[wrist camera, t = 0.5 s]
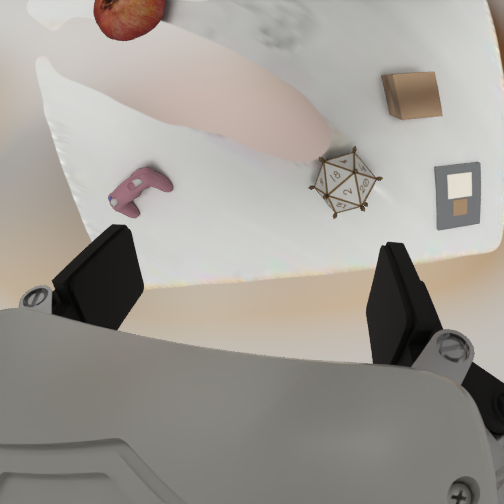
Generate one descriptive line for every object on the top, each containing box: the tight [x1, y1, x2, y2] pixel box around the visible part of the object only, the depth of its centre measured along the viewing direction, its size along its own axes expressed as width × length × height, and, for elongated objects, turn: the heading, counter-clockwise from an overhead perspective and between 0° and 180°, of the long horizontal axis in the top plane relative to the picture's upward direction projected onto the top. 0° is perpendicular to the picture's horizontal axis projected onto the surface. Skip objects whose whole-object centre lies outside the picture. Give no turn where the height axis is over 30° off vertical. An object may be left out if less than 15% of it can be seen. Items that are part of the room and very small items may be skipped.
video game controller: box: [108, 167, 173, 218], centre depth 45 cm, size 10×5×7 cm, turn 125°
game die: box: [309, 146, 383, 219], centre depth 37 cm, size 9×8×10 cm
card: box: [435, 162, 481, 230], centre depth 38 cm, size 10×8×1 cm
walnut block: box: [381, 72, 442, 120], centre depth 30 cm, size 6×6×6 cm
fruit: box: [94, 0, 165, 41], centre depth 27 cm, size 11×10×10 cm
